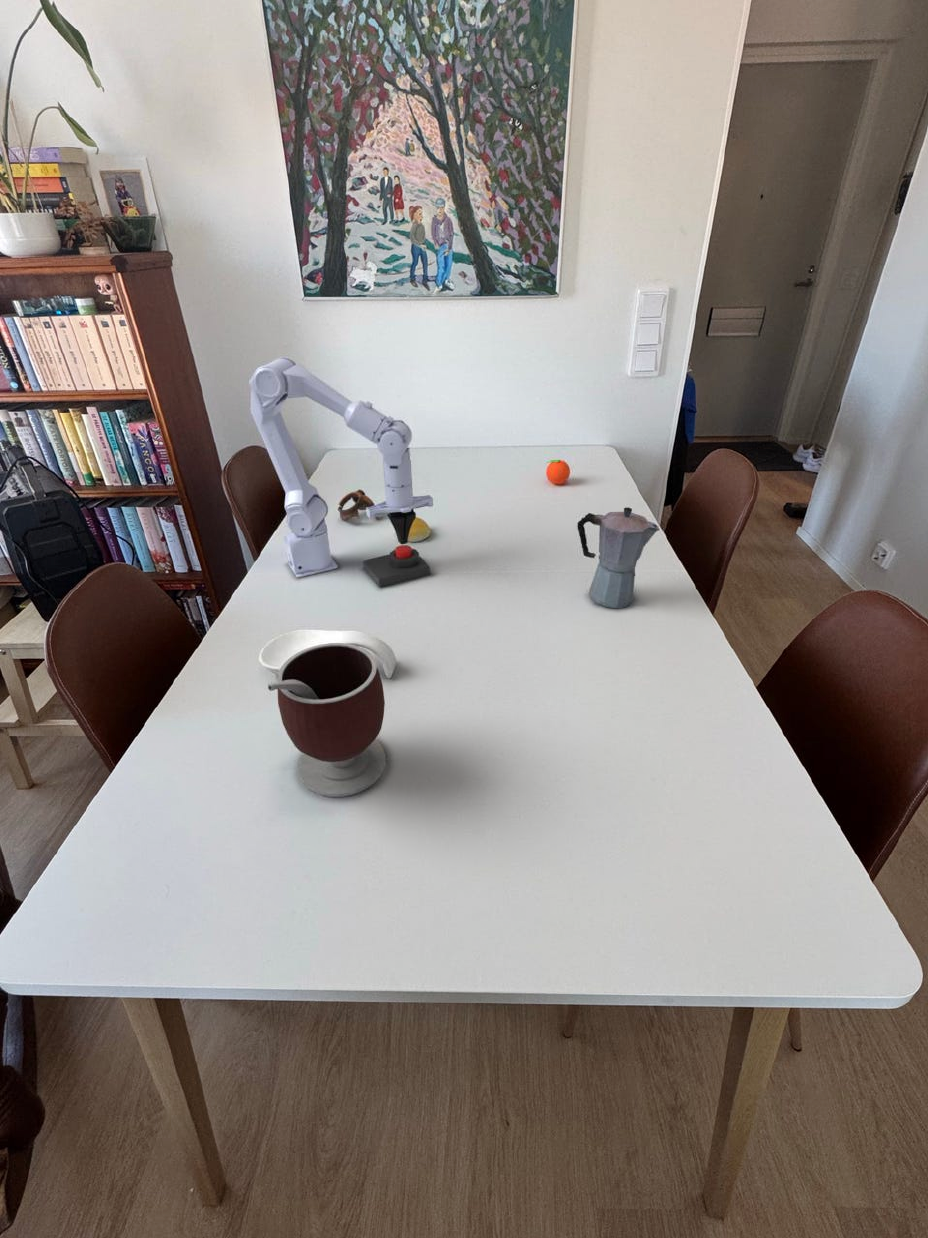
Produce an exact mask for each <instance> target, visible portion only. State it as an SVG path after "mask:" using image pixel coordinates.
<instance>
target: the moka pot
mask: <svg viewBox="0 0 928 1238" xmlns="http://www.w3.org/2000/svg"><path fill="white" fill-rule="evenodd" d="M586 523H590V524H592V525H594V526H599V533H598V535H599V537H598V538H599V542H598V553H599V555H598V564H597V566H596V570H595V572H594V576H593V578H592V582H591V584H590V587H589V590H588V596H589V598H590V599H591V600H592V601H593V602H594V603H596V604H598V605H600V606H602V607H606V608H611V609H622V608H626V607H628V606H630V604H631V603H633V599H634V592H635V591H634V590H635V579H636V566H637V563H638V561H639V560H640V558H641V556H642V554H643V550H644V548H645V546H646V545H647V544H648V543H649V541H650V540H651V539H652V537H653V536H654V535H655V534H656V532H658V531H660V527H659V525H657V524H656V523H655V522H652V521H649V520H648V519H647V518H646V517H645V516H643V515H640V514H637V513H634V512H633V508H631V507H628V506H627V507H624V508H623V511H609V512H607V513H606V514H604V515H603V514H594V513H591V512H588V513H587V514H585V515H584V517H582V518H581V519H580V520H578V522H577V526H576V527H577V532H578V536H579V540H580V544H581V549H582V554H583V556H585V557H587V558H590V559H595V558H596V556H597V554H596V553H594V552H590V551H589V548H588V541H587V535H586V528H585V524H586Z"/></svg>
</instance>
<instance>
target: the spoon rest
mask: <svg viewBox="0 0 928 1238" xmlns="http://www.w3.org/2000/svg"><path fill="white" fill-rule="evenodd" d="M328 643H345V644H352V645H356V646H359V647H361V648H363V649H365V650H366V649H367V651H369V652H370V651H371V652H372V653H374V655H376V656H377V657H378V659H379V660H380V662H381V665H382V668H383V670H384V675H385V677H386V678H388V679H391V678H392V676H393V674H394V671H395V668H396V666H397V658H396V655H395V652H394V651H393V649H392V648H391V646H389V645H388V644H387V643H386V642H385V641H383V639H380V638H379V637H377V636H375V635H372V634H369V633H367V632H362V631H358V630H325V629H297V630H292V631H288V632H284V633H283V634H282V633H281V634H280V635H278V636H276V637H273V638H271V640H269V641H268V642H267V643H266V644H265V645H264V646H263V647H262V649H261V650H260V652H259V655H258V660H259V664H260V665H261V666H262V667H263V668H265V669H266V670H267V671H269V672H271V673H273V674H276V675H278V673H279V670H280V668H281V667H282V665H283V664H284V663H285V662H286V661H287V660H288V659H289V658H290V657H292V656H293V655H295V654H296V653H298V652H300V651H302V650H304V649H307V648H310V647H313V646H317V645H321V644H328Z"/></svg>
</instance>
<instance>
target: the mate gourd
mask: <svg viewBox="0 0 928 1238" xmlns="http://www.w3.org/2000/svg"><path fill="white" fill-rule="evenodd" d="M381 677H382V676H381V673H380V671H379V668H378V666H377V661H376V659H375V657H374V656H373V654H372V653H370V651H369V650H368V649H367V650H366V648H363V647H359V646H356V645H352V644H345V643H328V644H321V645H317V646H313V647H310V648H307V649H304V650H302V651H300V652H298V653H296V654H295V655H293V656H292V657H290V658H289V659H288V660H287V661H286V662H285V663H284V664H283V665H282V667H281V668H280V670H279V673H278V674H277V678H276V679H277V680H276V682H271V683H269V684H267V689H268V691H270V692H274V691H275V690H277V705H278V709H279V714H280V718H281V722H282V725H283V727H284V730H285V732H286V735H287V736H288V737H289V739H290V740H291V742H292V744H293V745H294V747H295V749H297V750H298V751H299V752H300V753H302V754H303V755H302V758H301V760H300V762H299V775H300V777H301V781H302V782H303V784H304V786H305V787H306V788H307V789H308V790H309V791H311V792H313V793H315V794H317V795H320V796H323V797H328V798H342V797H350V796H352V795H356V794H358V793H361V792H363V791H365V790H367V789H368V788H369V787H371V786H372V785H373V784H375V783H376V782H377V781H378V780H379V778H380V777H381V775H382V774H383V772H384V770H385V767H386V761H387V760H386V754H385V750H384V747H383V746H382V744H381V743H380V742H379V741H378V740H377V737H378V736H379V734H380V733H381V730H382V726H383V722H384V717H385V706H386V704H385V703H386V702H385V701H386V700H385V693H384V684H383V680H382V678H381Z"/></svg>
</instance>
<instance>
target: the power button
mask: <svg viewBox="0 0 928 1238" xmlns="http://www.w3.org/2000/svg"><path fill="white" fill-rule="evenodd" d="M412 549H413V548H412V546H410V545H406V544H400V545H398V546H396V547H395V549H394V550H395V551H396V557H397V558H400V559H406V558H410V557H411V556H412Z"/></svg>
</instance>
